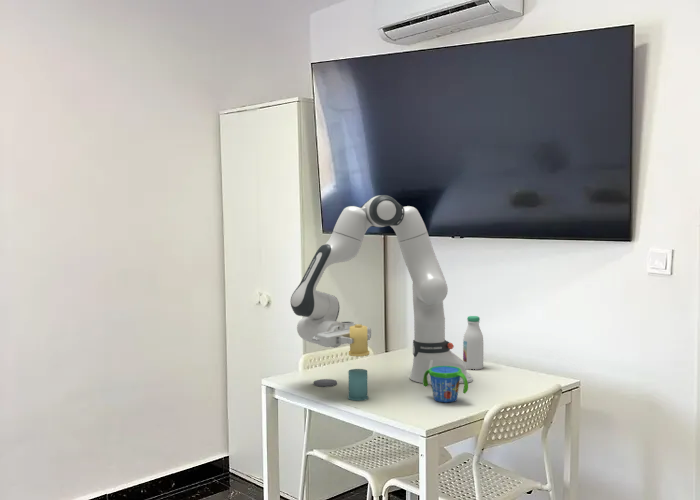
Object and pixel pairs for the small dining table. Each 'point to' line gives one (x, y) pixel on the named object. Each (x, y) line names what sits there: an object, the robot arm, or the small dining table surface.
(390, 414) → the small dining table surface
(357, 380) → the canister
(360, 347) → the tan cylinder
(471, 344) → the milk bottle
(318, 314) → the robot arm
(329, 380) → the mat
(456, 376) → the snack cup
